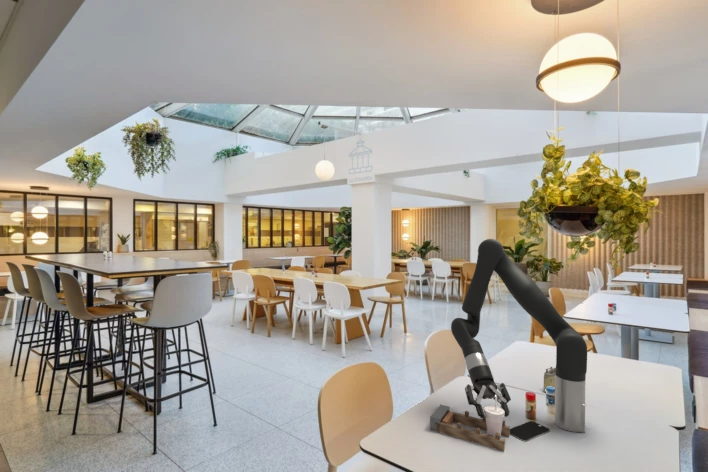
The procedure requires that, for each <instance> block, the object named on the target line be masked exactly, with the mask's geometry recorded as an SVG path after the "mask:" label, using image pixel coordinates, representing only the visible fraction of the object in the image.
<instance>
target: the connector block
mask: <svg viewBox="0 0 708 472" xmlns="http://www.w3.org/2000/svg"><path fill="white" fill-rule="evenodd" d="M450 409H451V407H450V406H448V405H445V404H440V405H439V406H438V407H437V408H436V409H435V411H433V413H432V414H431V415H430V417H429V419H430V420H429V421H430V422H429V430H430V431H433V432H436V431H435V427H436V426H437V425H440V423H441V422H442V420H443V419H444V418H445V416H446V415H447V414H448V412H449V411H451V410H450ZM435 423H436V426H435ZM437 423H438V424H437ZM437 428H438V427H437ZM438 431H439V430H438ZM438 433H440V432H438Z"/></svg>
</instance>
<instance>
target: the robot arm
mask: <svg viewBox="0 0 708 472" xmlns="http://www.w3.org/2000/svg"><path fill="white" fill-rule="evenodd" d="M494 272H495V273H496V275H498V277H499V279H501V281H502V282H503V283H504V286H505V287H506V288H507V290H508V292H509V293H510V294H511V296H512V297H513V299H515V301H516V302H517V303H518V304H519V306H520V307H521V308H522V309H523V310H524V311H525V312H526V313H527V314H528V315H530V316H531V318H533V319H534V320H535V321H536V322H538V324H539V325H541V326H542V327H543V328H544V329H545V331H546V332H547V333H548V335H549V336H550V338H551V339H552V341H553V342H554V344H555V346H556V348H555V349H556V351H555V352H556V354H555V358H556V359H555V360H556V361H555V367H554V368H555V392H554V424H555V425H556V426H557V427H558V428H560V429H562V430H565V431H567V432H568V431H569V432H574V433H586V375H587V372H588V371H587V370H588V345H587V342H586V341H585V339H584V336H582V334H580V333H579V331H577V330H575V328H574V327H572V325H570V324H569V323H568V322H567V321H566V320H565V319H564V318H563V317H562V315H560V313H559V312H558V310H557V309H556V308H555V307H554V304H552V302H551V301H550V300H549V297H548V296H547V295H546V293H544V292H543V290H542V289H541V288H540V287H539V286H538V284H537V283H535V282H534V281H533V280H532V279H531V278H530V277H529V275H528V274H526V273H525V272H524V271H523V270H521V269H520V268H519V267H518V266H517V265H516V264H515V263H514V262H513V261H512V259H511V258H510V256H509V255H508V254H507V253H506V250H505V249H504V247H503V244H502V243H501V242H500V240H499V241H498V240H497V239H494V238H487V239H485V240H482V242H480V243H479V245H478V248H477V260H476V265H475V269H474V272H473V276H472V278H471V280H470V284H469V285H468V288H467V291H466V293H465V297H464V300H463V302H462V307H461V311H463V312H464V313H466V314H467V318H462V317H456V318H453V320H452V321H451V324H450V329H451V334H452V336H453V337H454V339H455V340H456V342H457V344H458V346H459V347H460V348H461V351H462V354H463V357H464V360H465V365H466V369H467V372H468V374H469V375H468V376H469V378H470V381H471V384H472V385H470V384H466V386H465V388H464V391H465V395H466V396H465V397H466V399H467V403H468V405H469V406H474V408H475V410H476V414H477V416H478V417H479V419H482V418H484V416H485V413H484V408H483V406H482V404H481V401H482V399H483V400H486V399H488V400H492V399H493V400H495V397H497V403H498V404H500V408H502V409H503V410H504V411H505V415H504V416H503V417H505V418H507V417H509V415H510V413H511V412H510V409H509V405H508V404H509V402H510V401H511V396H510V393H509V392H508V391H509V390H508V389H507V387H506V385H505V383H504V382H501V383H500V384H497V383H495V380H494V376H493V373H492V371H491V368H490V364H489V363H488V360H487V357H486V356H485V353H484V351H483V348H482V347H483V346H481V343H480V342H479V340H476V339H475V338H476V337H477V336H478V334H479V332H480V328H481V327H480V325H481V323H480V322H481V312H482V308H483V306H484V303H485V299H486V296H487V293H488V289H489V286H490V281H491V280H492V279H491V278H492V275H493V273H494ZM473 392H475V393H476V394H477V395H476V397H474V393H473Z"/></svg>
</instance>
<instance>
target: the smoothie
mask: <svg viewBox="0 0 708 472" xmlns="http://www.w3.org/2000/svg"><path fill="white" fill-rule="evenodd" d="M494 402H495V403H494V405H487V406H485V407H484V408H483V412H484V415H485V417H486V426H487V431H486V434H487V435H491V436H494V437H495V434H496V432H497V433H500V438H501V436H502V435H501V430H502V423H503V420H504V417H505V416H504V415H505V411H504V410H503V409H502V408H501V406H500V407H499V406H498V401H497V397H495V401H494Z"/></svg>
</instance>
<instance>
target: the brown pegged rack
mask: <svg viewBox="0 0 708 472" xmlns="http://www.w3.org/2000/svg"><path fill="white" fill-rule="evenodd" d="M454 423H455V424H456V425H453V424H454ZM437 424H438V423H437ZM435 426H436V423H435ZM463 426H465V427H466V426H467V427H468V428H474V429H475V430H472V429H468V428H465V427H463ZM437 427H438V428H437ZM510 429H511V427H510V426H509V425H507V424H506V420H504V419H503V423H502V430H501V436H503V437H505V438H509V437H510V436H511V435H510ZM438 430H439V431H438ZM481 431H484V432H487V426H486V417H485V416H484V418H480V417H475V416H471V415H470V411H468V410H465V411H464V413H463V414H462V413H459V412H457V411H456V412H455V411H452V410H450V411H449V412H448V414H447V415H446V416H445V418H444V419H443V420H442V422H441V423H440V425H437V426H436V427H435V431H434V432H437V433H439V432H440V433H441V434H444V435H447V436H450V437H454V438H457V439H460V440H464V441H467V442H471V443H474V444H478V445H481V446H484V447H487V448H491V449H494V450H498V451H501V452H505V449H506V448H505V447H506V439H505V438H501V437H500V433H497V432H496V434H495V437H494V436H491V435H487V433H483V432H481Z"/></svg>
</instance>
